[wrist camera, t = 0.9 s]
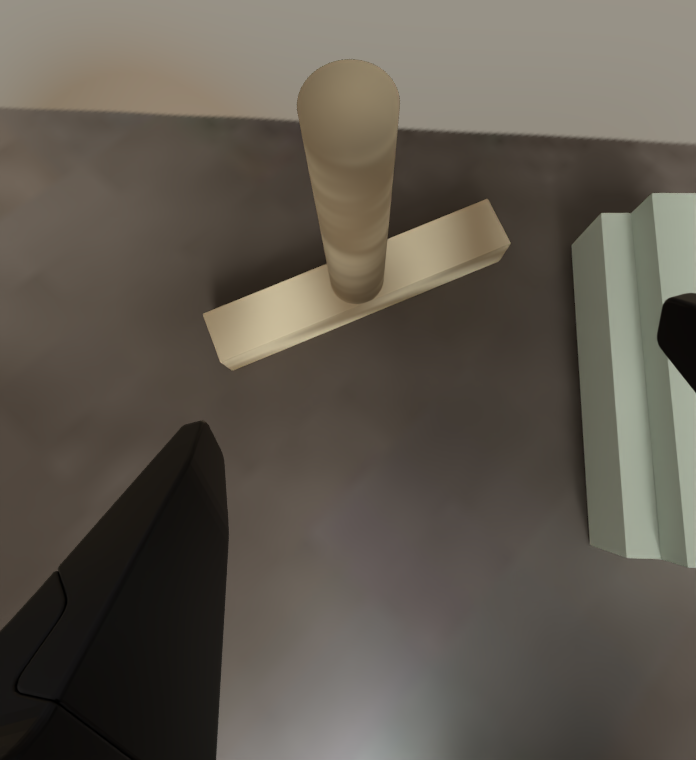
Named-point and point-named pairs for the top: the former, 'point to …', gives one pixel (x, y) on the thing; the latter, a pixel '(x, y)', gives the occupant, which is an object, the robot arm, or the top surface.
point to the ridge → (636, 380)
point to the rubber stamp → (353, 225)
